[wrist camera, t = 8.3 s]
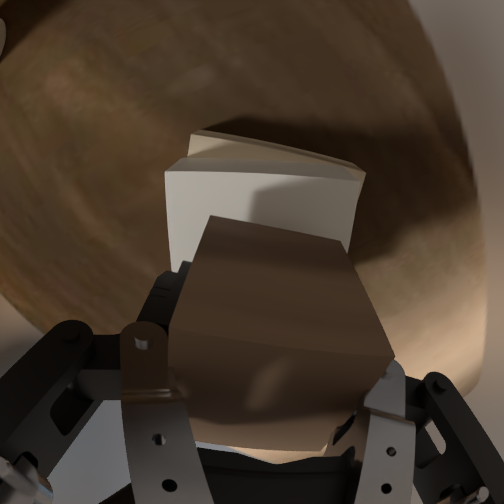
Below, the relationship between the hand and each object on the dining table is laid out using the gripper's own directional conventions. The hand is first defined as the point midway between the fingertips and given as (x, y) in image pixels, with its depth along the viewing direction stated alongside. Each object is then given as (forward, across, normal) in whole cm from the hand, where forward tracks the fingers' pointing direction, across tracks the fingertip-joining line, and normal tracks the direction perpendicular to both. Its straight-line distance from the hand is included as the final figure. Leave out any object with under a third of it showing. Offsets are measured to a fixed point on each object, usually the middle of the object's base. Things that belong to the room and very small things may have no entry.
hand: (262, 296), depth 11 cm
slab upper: (+5, 0, 0) cm, 5 cm away
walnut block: (+1, 0, 0) cm, 1 cm away
